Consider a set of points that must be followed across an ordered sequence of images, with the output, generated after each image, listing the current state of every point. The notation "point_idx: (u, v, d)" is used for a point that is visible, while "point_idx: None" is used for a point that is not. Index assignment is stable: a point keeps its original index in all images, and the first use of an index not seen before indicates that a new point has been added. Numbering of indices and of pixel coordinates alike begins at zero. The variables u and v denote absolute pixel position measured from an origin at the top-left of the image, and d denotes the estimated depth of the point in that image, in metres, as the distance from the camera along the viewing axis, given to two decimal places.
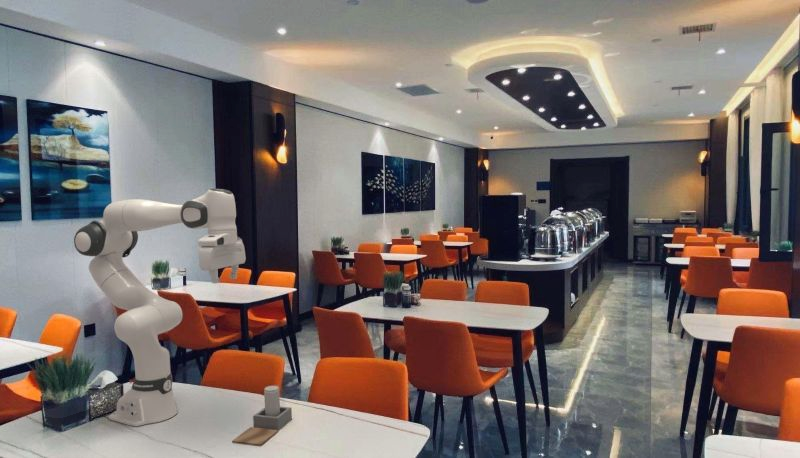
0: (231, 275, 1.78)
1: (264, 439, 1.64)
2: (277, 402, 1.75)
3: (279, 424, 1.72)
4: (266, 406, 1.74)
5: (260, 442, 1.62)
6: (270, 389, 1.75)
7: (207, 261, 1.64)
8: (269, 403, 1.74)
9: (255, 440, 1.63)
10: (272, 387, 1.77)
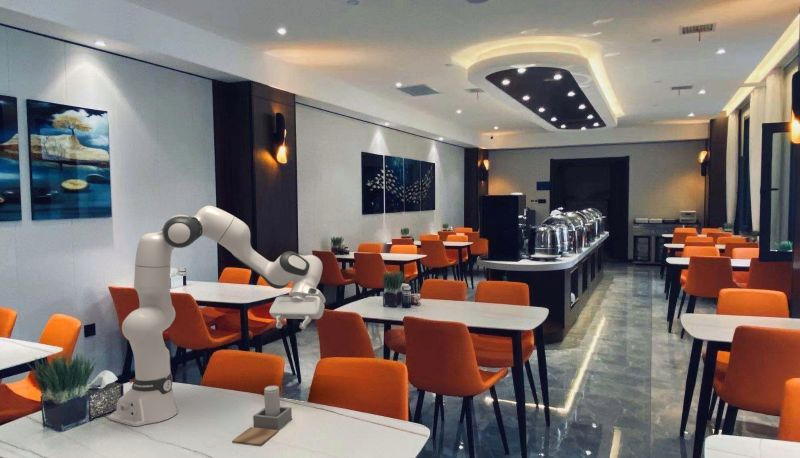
0: (281, 324, 1.90)
1: (264, 439, 1.64)
2: (277, 402, 1.75)
3: (279, 424, 1.72)
4: (266, 406, 1.74)
5: (260, 442, 1.62)
6: (270, 389, 1.75)
7: (322, 312, 1.90)
8: (269, 403, 1.74)
9: (255, 440, 1.63)
10: (272, 387, 1.77)
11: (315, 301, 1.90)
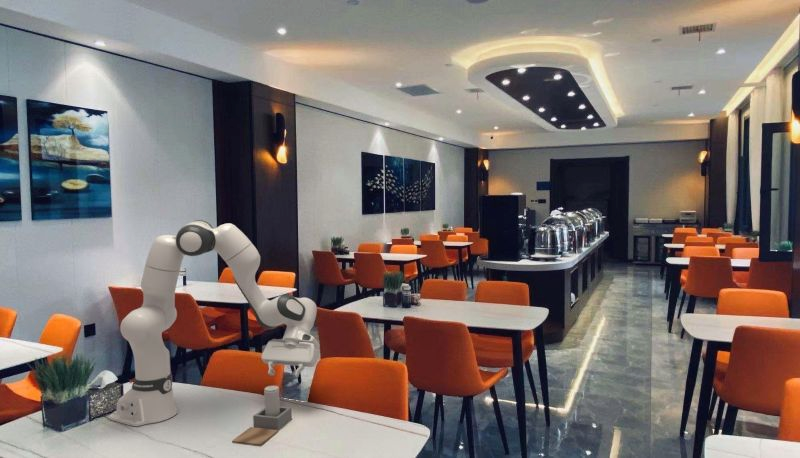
0: (273, 371, 1.85)
1: (264, 439, 1.64)
2: (277, 402, 1.75)
3: (279, 424, 1.72)
4: (266, 406, 1.74)
5: (260, 442, 1.62)
6: (270, 389, 1.75)
7: (316, 359, 1.86)
8: (269, 403, 1.74)
9: (255, 440, 1.63)
10: (272, 387, 1.77)
11: (309, 348, 1.86)
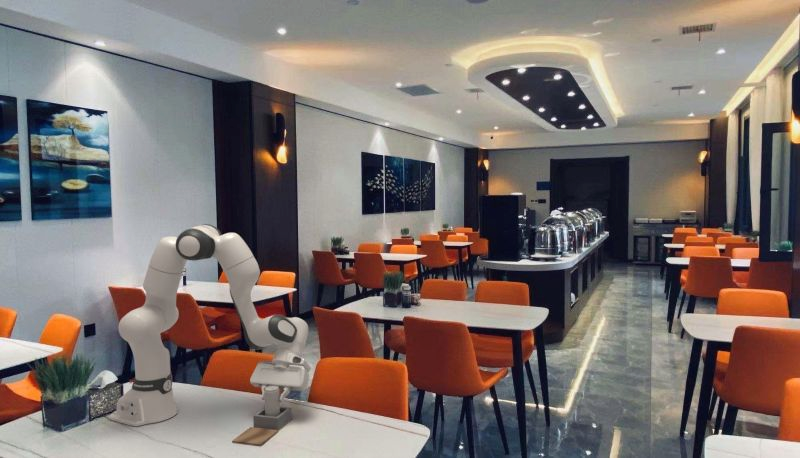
0: None
1: (264, 439, 1.64)
2: (277, 402, 1.75)
3: (279, 424, 1.72)
4: (266, 406, 1.74)
5: (260, 442, 1.62)
6: (270, 389, 1.75)
7: (307, 383, 1.79)
8: (269, 403, 1.74)
9: (255, 440, 1.63)
10: (272, 387, 1.77)
11: (299, 371, 1.79)
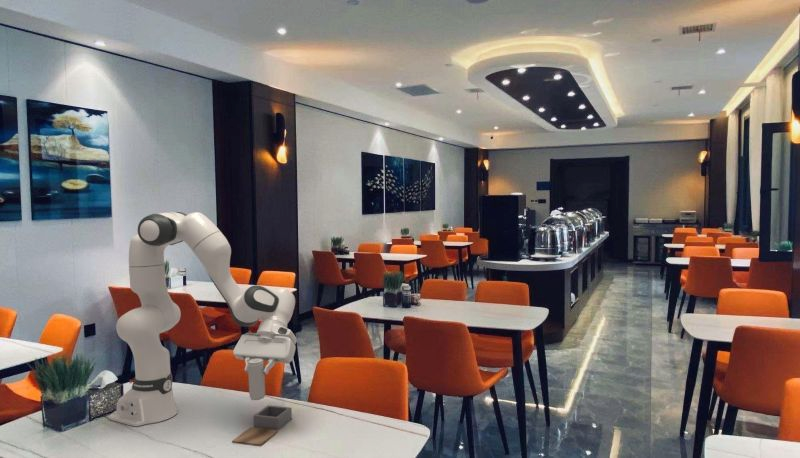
0: None
1: (264, 439, 1.64)
2: (262, 375, 1.66)
3: (279, 424, 1.72)
4: (250, 379, 1.65)
5: (260, 442, 1.62)
6: (254, 361, 1.66)
7: (293, 355, 1.70)
8: (253, 376, 1.65)
9: (255, 440, 1.63)
10: (256, 360, 1.68)
11: (285, 342, 1.70)
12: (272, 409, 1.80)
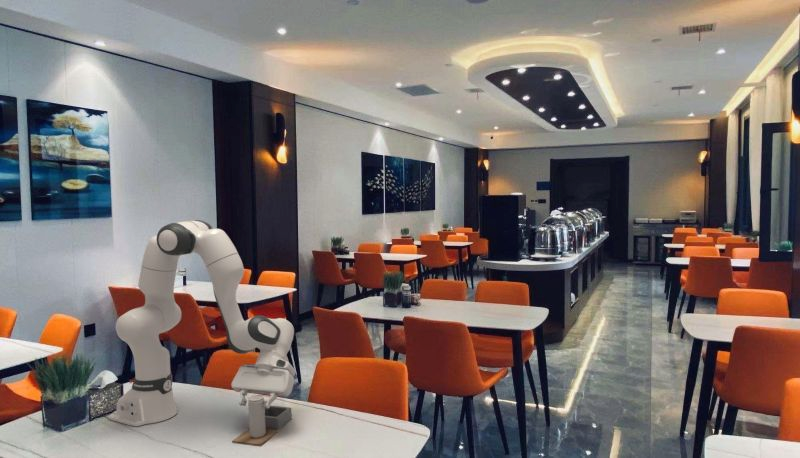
0: (245, 401, 1.68)
1: (264, 439, 1.64)
2: (262, 413, 1.65)
3: (279, 424, 1.72)
4: (250, 417, 1.64)
5: (260, 442, 1.62)
6: (254, 399, 1.65)
7: (291, 388, 1.69)
8: (254, 414, 1.64)
9: (255, 440, 1.63)
10: (257, 397, 1.67)
11: (283, 375, 1.69)
12: (272, 409, 1.80)
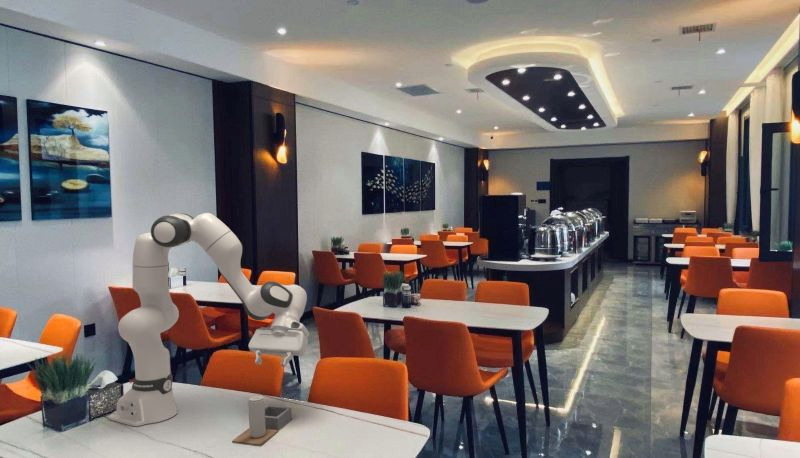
0: (260, 360, 1.77)
1: (264, 439, 1.64)
2: (262, 413, 1.65)
3: (279, 424, 1.72)
4: (250, 417, 1.64)
5: (260, 442, 1.62)
6: (254, 399, 1.65)
7: (305, 348, 1.78)
8: (254, 414, 1.64)
9: (255, 440, 1.63)
10: (257, 397, 1.67)
11: (298, 336, 1.78)
12: (272, 409, 1.80)
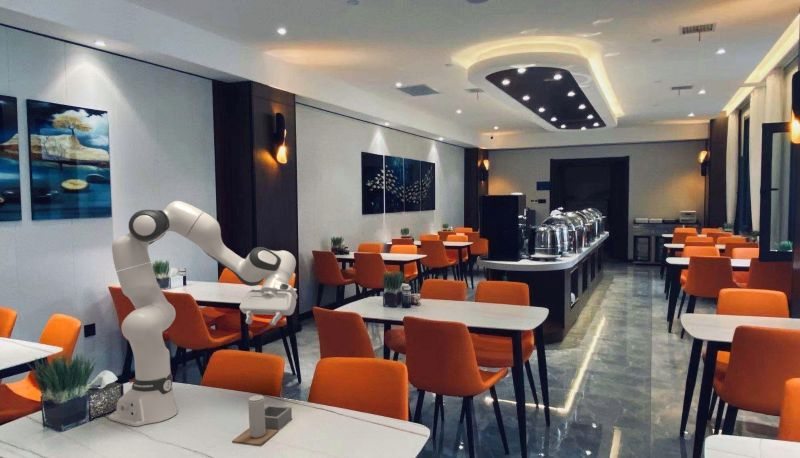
0: (250, 320, 1.86)
1: (264, 439, 1.64)
2: (262, 413, 1.65)
3: (279, 424, 1.72)
4: (250, 417, 1.64)
5: (260, 442, 1.62)
6: (254, 399, 1.65)
7: (293, 308, 1.87)
8: (253, 414, 1.64)
9: (255, 440, 1.63)
10: (256, 397, 1.67)
11: (286, 296, 1.87)
12: (272, 409, 1.80)
